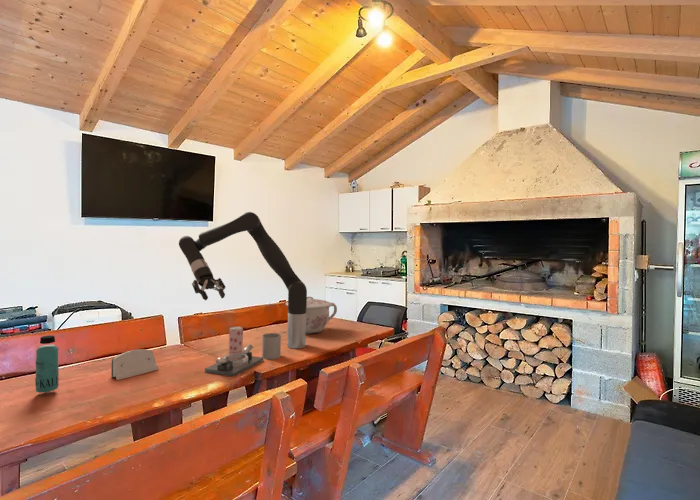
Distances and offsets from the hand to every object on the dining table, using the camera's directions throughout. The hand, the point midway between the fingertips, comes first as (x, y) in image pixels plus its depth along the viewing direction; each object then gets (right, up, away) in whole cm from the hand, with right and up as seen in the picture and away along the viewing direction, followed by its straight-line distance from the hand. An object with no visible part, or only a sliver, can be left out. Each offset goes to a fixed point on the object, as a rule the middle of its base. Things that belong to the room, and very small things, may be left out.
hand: (215, 298), depth 179 cm
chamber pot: (+36, -27, +56) cm, 72 cm away
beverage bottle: (-44, -28, -42) cm, 67 cm away
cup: (+24, -28, +6) cm, 38 cm away
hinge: (-26, -28, -19) cm, 43 cm away
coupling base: (+12, -28, -9) cm, 32 cm away
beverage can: (+12, -27, -9) cm, 31 cm away
